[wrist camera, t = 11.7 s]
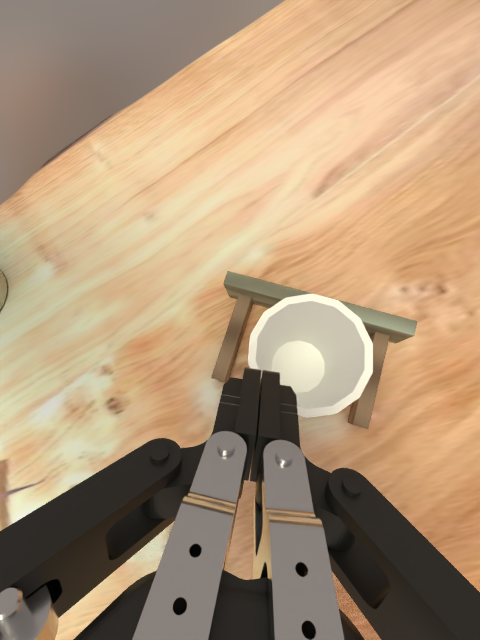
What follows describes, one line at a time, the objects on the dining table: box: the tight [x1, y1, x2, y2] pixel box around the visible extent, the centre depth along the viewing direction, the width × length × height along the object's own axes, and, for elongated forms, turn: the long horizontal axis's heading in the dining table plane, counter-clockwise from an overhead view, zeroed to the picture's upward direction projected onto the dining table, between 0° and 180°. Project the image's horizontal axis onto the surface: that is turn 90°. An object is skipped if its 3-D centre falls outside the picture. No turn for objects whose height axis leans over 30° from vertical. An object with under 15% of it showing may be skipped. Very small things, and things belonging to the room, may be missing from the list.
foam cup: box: [248, 294, 373, 418], centre depth 31 cm, size 10×9×13 cm
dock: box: [211, 271, 417, 429], centre depth 35 cm, size 12×20×5 cm, turn 72°
